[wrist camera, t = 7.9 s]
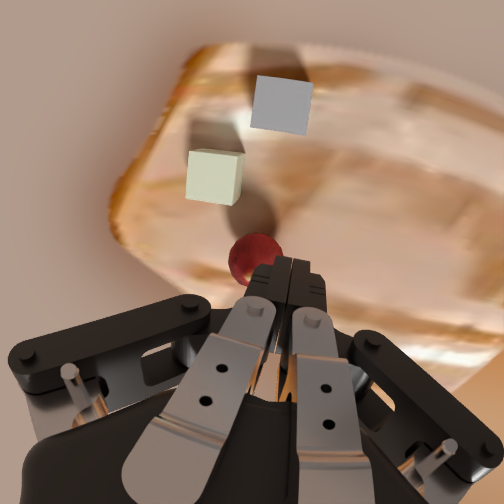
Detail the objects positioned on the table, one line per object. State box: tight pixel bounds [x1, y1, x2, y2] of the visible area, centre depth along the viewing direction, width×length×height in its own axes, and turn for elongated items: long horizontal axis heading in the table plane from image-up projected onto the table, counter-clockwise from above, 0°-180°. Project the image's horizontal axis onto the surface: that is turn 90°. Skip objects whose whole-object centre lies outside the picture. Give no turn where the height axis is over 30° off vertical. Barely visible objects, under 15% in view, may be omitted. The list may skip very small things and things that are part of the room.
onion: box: [228, 233, 283, 287], centre depth 31 cm, size 6×6×8 cm
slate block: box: [250, 75, 314, 136], centre depth 26 cm, size 5×5×5 cm
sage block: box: [186, 148, 246, 206], centre depth 30 cm, size 5×5×4 cm
